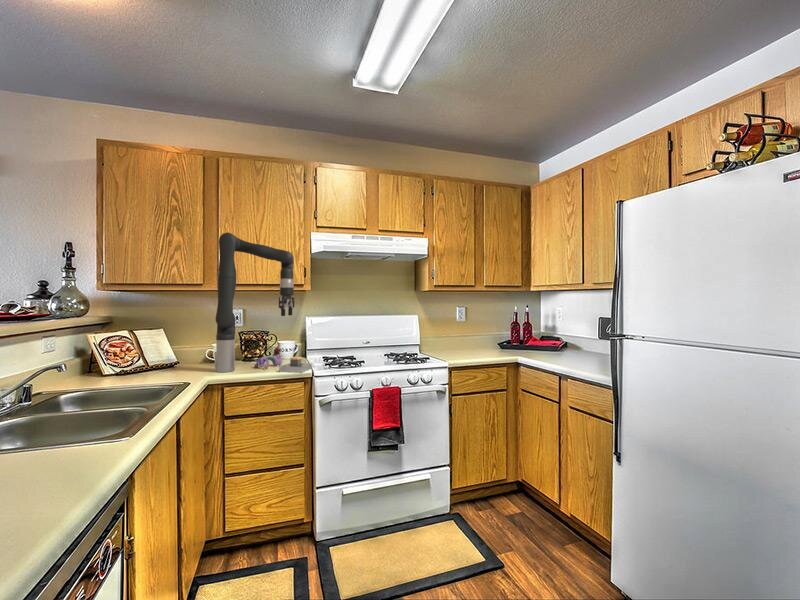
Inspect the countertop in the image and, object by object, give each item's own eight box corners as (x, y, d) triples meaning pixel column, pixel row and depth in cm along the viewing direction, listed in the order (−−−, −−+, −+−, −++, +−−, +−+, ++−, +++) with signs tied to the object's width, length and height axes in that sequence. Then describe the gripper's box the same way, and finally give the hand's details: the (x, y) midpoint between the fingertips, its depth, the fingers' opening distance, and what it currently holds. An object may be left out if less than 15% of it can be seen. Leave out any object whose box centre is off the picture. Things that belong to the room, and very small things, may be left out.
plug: (290, 371, 211) (290, 357, 211) (294, 369, 215) (294, 356, 215) (297, 371, 210) (297, 358, 210) (301, 369, 214) (301, 357, 214)
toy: (281, 376, 224) (291, 352, 230) (263, 368, 213) (273, 343, 219) (269, 375, 230) (278, 351, 236) (251, 366, 219) (261, 342, 225)
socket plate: (279, 372, 208) (279, 366, 208) (290, 367, 220) (290, 362, 220) (301, 372, 205) (301, 366, 205) (311, 368, 218) (311, 363, 218)
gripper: (286, 287, 225) (286, 315, 225) (274, 286, 211) (274, 316, 211) (298, 287, 224) (298, 315, 223) (287, 286, 210) (287, 316, 209)
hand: (286, 315), depth 217 cm, fingers open, 8 cm apart
